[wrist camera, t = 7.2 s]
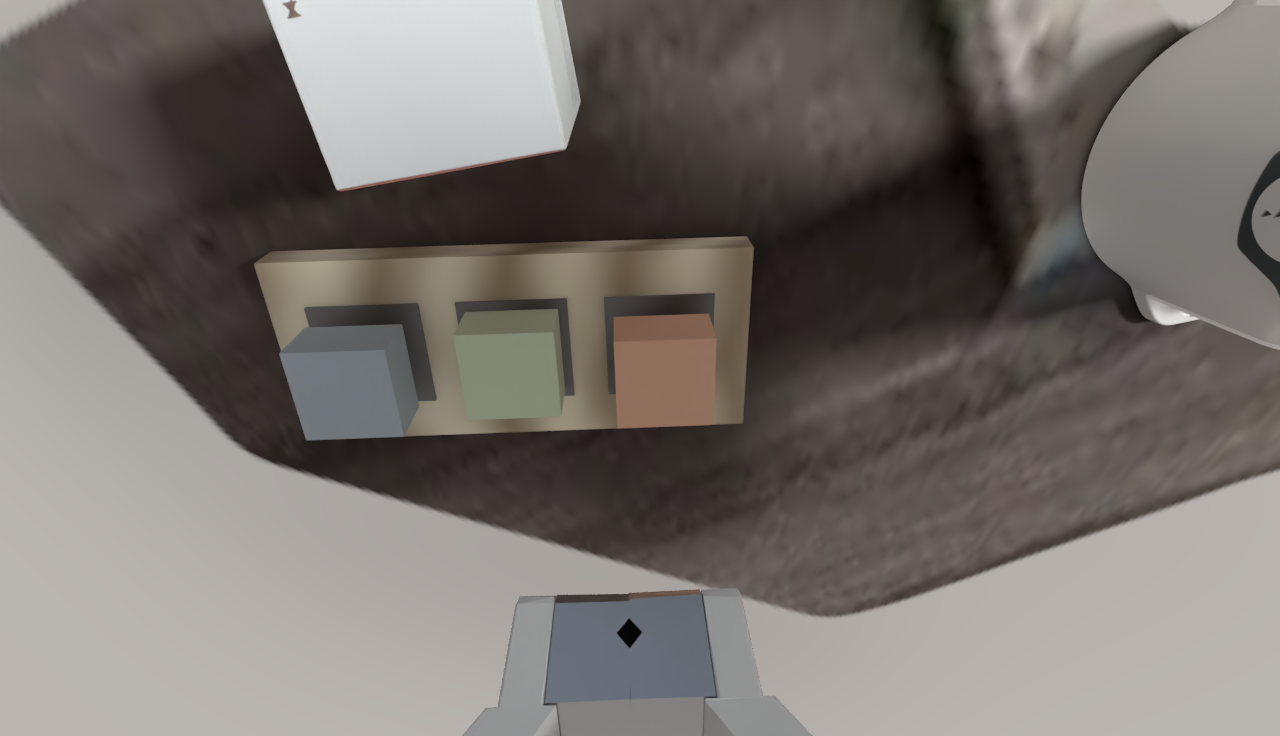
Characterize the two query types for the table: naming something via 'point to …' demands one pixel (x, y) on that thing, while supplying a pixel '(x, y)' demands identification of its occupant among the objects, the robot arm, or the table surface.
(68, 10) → the table surface
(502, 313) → the sage button
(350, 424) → the slate button
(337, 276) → the button board
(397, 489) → the table surface
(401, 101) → the small box
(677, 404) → the terracotta button
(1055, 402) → the table surface
